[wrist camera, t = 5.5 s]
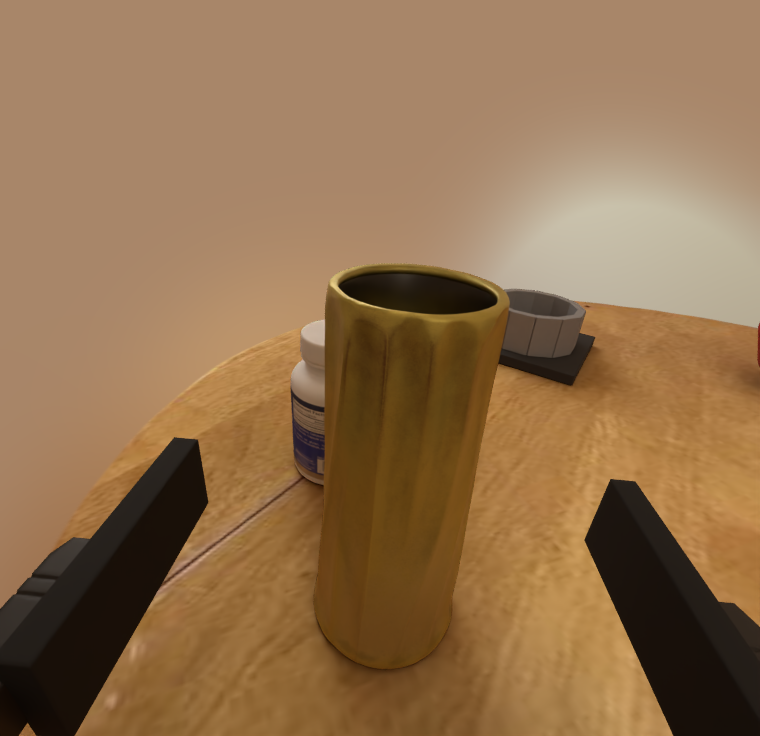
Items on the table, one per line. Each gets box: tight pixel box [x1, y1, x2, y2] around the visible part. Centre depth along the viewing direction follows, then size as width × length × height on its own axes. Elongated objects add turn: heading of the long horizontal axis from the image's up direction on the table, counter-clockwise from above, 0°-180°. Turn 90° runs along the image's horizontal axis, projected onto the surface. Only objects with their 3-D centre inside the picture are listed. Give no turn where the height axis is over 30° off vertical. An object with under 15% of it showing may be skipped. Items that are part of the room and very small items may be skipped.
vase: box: [314, 264, 510, 669], centre depth 15 cm, size 6×6×14 cm
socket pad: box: [498, 289, 595, 385], centre depth 44 cm, size 12×12×5 cm
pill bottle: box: [291, 320, 325, 485], centre depth 24 cm, size 5×5×9 cm
